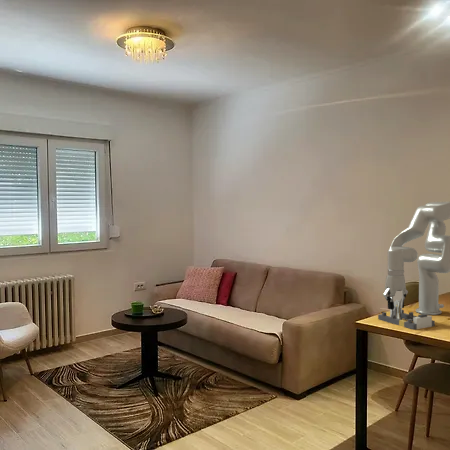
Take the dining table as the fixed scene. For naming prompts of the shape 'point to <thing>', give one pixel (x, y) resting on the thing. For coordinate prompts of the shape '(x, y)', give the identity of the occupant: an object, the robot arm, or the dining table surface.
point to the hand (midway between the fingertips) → (395, 308)
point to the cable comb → (409, 320)
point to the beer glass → (397, 304)
